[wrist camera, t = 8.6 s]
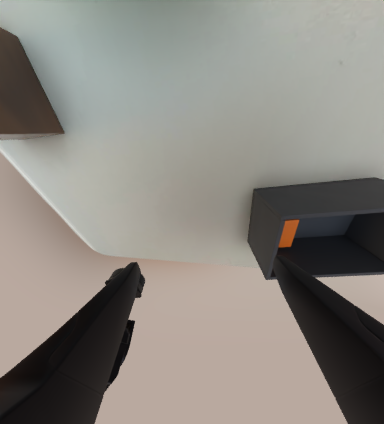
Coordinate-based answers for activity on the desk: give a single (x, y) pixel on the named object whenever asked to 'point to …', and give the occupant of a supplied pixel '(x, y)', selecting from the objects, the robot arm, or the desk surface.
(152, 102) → the desk surface
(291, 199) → the bin
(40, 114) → the stand
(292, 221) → the block
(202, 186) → the desk surface
